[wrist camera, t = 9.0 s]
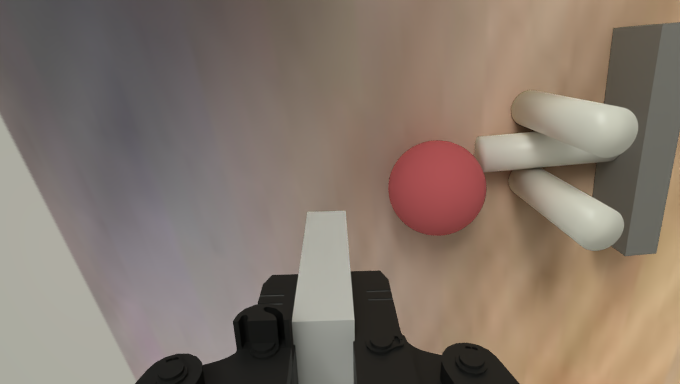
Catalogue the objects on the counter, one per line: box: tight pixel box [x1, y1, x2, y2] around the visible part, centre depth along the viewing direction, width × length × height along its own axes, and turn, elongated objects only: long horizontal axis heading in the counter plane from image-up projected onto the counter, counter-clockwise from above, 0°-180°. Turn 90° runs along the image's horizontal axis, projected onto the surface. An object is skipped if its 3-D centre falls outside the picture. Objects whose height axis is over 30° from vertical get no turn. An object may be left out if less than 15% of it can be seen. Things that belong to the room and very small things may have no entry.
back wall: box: [593, 22, 680, 256], centre depth 26 cm, size 14×2×4 cm, turn 5°
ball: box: [388, 140, 486, 236], centre depth 25 cm, size 6×6×6 cm
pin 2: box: [508, 168, 624, 251], centre depth 24 cm, size 2×2×8 cm
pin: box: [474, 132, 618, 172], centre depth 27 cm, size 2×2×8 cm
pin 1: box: [511, 90, 638, 158], centre depth 23 cm, size 2×2×8 cm
